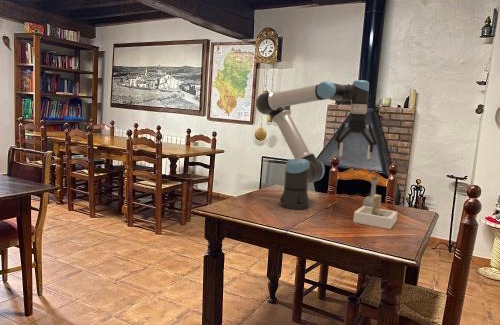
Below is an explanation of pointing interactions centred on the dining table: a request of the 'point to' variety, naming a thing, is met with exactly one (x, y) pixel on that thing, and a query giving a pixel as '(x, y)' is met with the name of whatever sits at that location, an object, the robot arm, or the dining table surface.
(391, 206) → the dining table surface
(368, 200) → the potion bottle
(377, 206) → the tapered beige beam
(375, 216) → the white square tray
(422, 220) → the dining table surface
